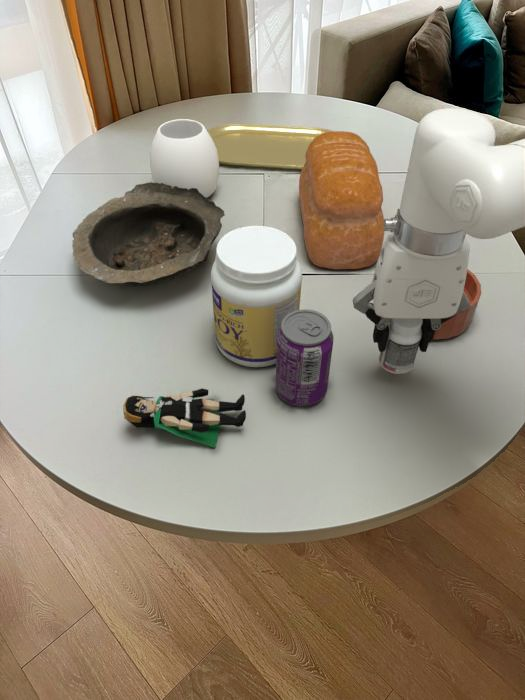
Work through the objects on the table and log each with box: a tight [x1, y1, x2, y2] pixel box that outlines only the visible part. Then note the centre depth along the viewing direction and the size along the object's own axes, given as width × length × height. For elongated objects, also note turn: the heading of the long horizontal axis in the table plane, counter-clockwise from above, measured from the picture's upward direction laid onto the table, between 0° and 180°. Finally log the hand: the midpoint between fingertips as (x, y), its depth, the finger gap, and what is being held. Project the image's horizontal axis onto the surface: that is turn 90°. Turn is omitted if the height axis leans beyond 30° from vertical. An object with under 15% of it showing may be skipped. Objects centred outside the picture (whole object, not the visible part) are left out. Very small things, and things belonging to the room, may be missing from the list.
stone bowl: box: [71, 181, 226, 287], centre depth 94 cm, size 25×25×9 cm
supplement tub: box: [210, 225, 303, 368], centre depth 78 cm, size 12×12×17 cm
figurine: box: [122, 388, 247, 449], centre depth 72 cm, size 8×6×15 cm
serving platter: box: [206, 123, 334, 171], centre depth 125 cm, size 19×35×2 cm, turn 84°
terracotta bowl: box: [433, 268, 482, 341], centre depth 86 cm, size 13×13×6 cm
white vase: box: [149, 118, 220, 198], centre depth 108 cm, size 13×13×14 cm
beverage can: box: [274, 308, 335, 407], centre depth 73 cm, size 7×7×12 cm
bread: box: [298, 130, 385, 270], centre depth 99 cm, size 14×26×15 cm, turn 1°
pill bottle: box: [378, 318, 423, 375], centre depth 75 cm, size 5×5×8 cm
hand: (400, 343), depth 75 cm, fingers closed on pill bottle, 4 cm apart
